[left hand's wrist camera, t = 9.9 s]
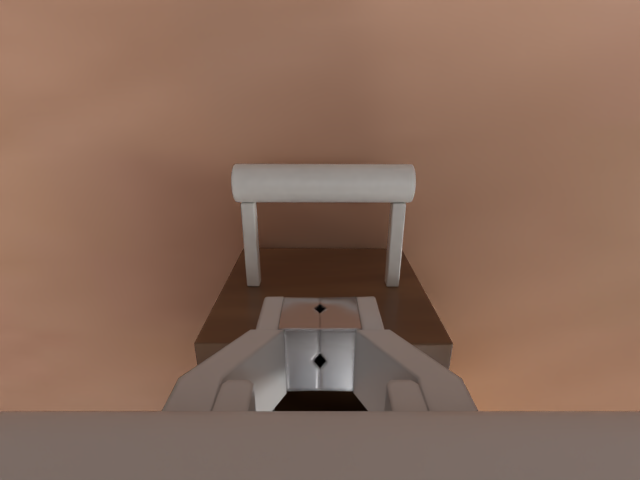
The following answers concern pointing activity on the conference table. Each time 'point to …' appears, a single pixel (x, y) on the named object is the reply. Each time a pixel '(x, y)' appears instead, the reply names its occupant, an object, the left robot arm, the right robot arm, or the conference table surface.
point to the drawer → (324, 265)
